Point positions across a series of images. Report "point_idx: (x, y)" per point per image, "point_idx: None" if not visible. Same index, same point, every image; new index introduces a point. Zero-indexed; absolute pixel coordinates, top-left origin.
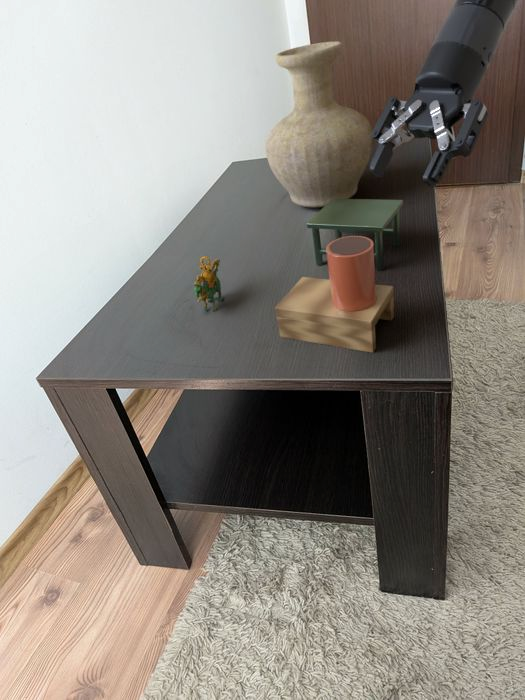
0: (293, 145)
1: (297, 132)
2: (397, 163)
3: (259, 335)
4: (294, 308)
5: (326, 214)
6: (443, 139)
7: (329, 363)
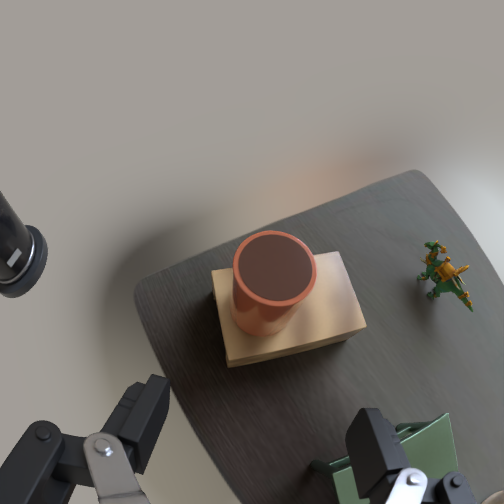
0: None
1: None
2: None
3: (345, 265)
4: (317, 258)
5: (442, 454)
6: (106, 469)
7: None
